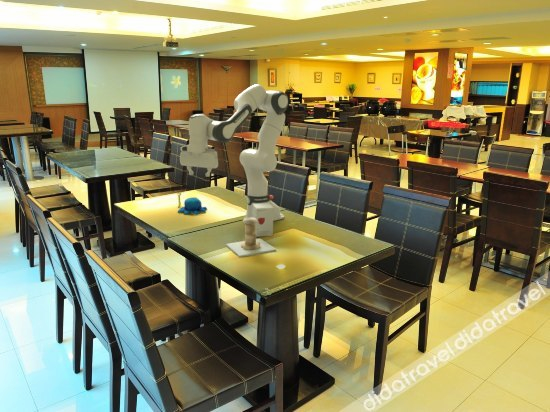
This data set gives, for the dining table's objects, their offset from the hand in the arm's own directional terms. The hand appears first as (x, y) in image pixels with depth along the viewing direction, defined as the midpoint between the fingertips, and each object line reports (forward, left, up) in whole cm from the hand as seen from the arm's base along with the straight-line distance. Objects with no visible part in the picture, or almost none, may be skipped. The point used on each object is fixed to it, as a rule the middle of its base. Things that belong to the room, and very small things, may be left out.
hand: (199, 175), depth 209 cm
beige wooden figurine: (-13, +33, -28) cm, 45 cm away
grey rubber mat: (-13, +33, -29) cm, 46 cm away
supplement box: (-27, +17, -29) cm, 43 cm away
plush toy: (-7, -38, -30) cm, 49 cm away
